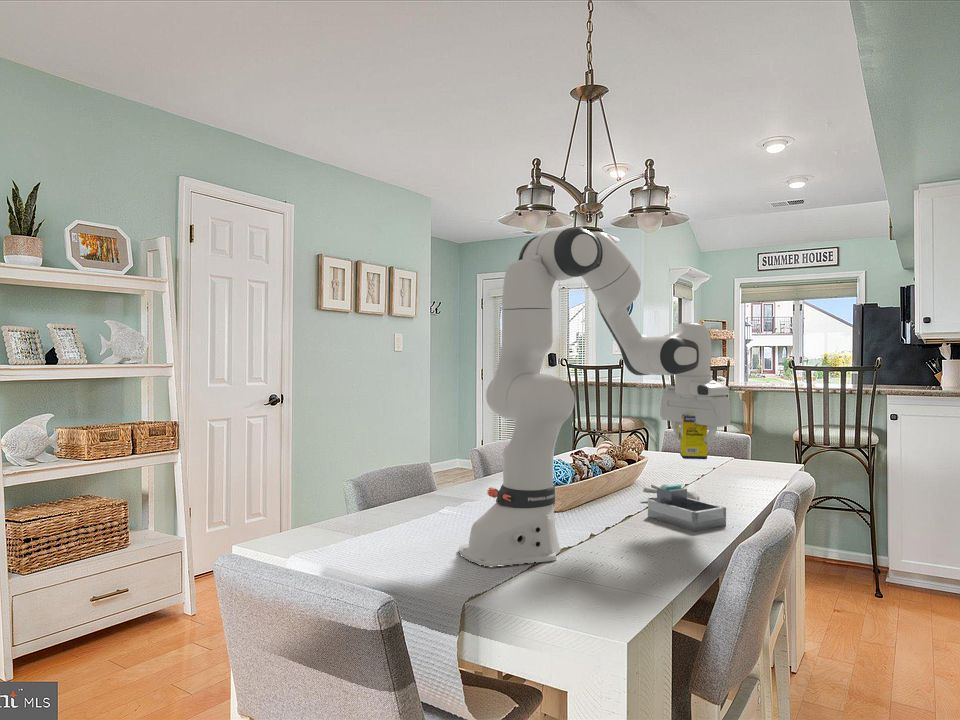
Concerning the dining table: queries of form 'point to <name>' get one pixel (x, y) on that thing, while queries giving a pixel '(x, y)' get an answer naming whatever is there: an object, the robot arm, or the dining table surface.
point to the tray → (685, 510)
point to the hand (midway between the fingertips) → (693, 441)
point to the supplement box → (692, 438)
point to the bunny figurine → (690, 493)
